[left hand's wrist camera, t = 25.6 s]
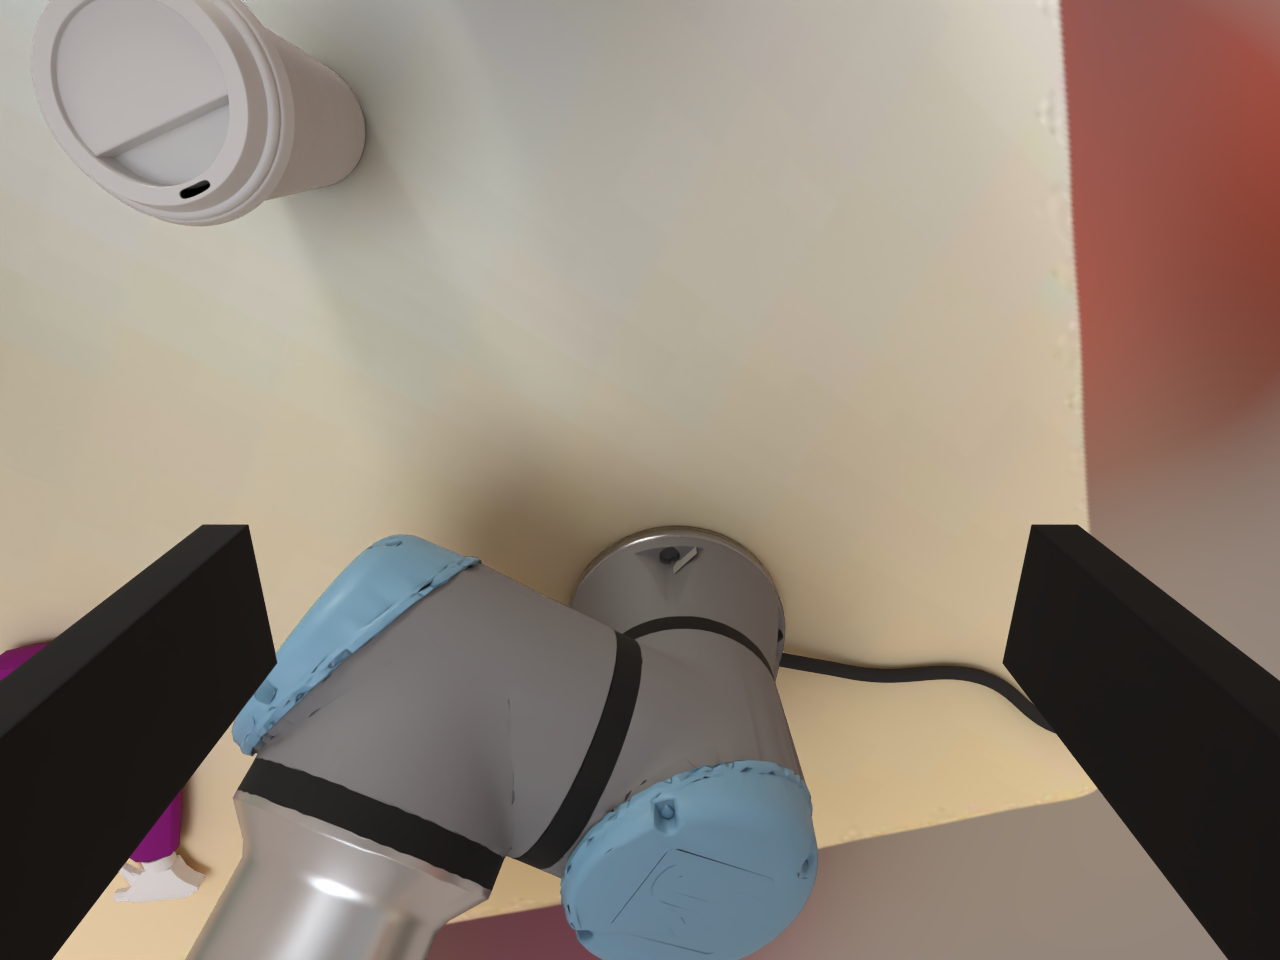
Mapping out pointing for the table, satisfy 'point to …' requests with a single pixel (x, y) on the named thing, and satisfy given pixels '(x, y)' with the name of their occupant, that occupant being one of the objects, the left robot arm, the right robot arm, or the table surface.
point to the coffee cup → (190, 106)
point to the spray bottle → (156, 850)
